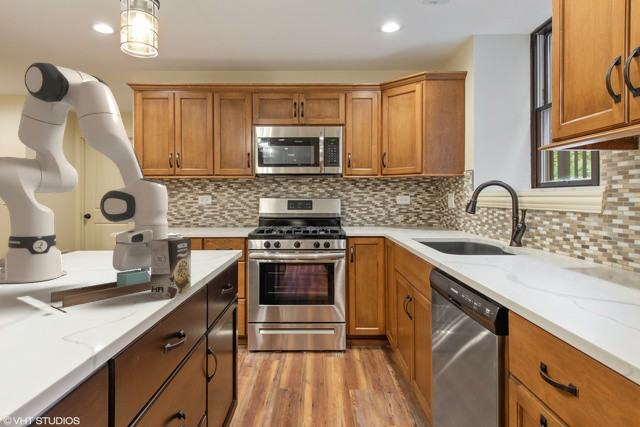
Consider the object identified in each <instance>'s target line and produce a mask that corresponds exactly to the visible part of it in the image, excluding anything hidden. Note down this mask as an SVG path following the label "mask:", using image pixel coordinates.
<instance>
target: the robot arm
mask: <svg viewBox="0 0 640 427" xmlns="http://www.w3.org/2000/svg"><path fill="white" fill-rule="evenodd" d="M24 74H25V75H24V85H25V88H26V90H27V91H28V92H27V93H26V96H25V98H24V99H25V100H24V103H23V106H22V110H21V115H20V120H19V125H18V132H17V137H18V138H19V141H20V142H21V143H22V144H23V145H25V147H28V148H29V149H30V150H33V151H34V152H35V158H27V157H26V158H25V157H14V156H0V199H1V201H3V202H4V204H5V206H6V208H7V211H8V215H9V220H10V235H9V237H8V241H7V243H8V245H7V247H8V248H7V251H6V252H5V253H4V255H3V257H2V258H0V284H11V283H12V284H15V283H17V284H18V283H19V284H20V283H32V282H33V283H34V282H41V281H47V280H48V281H49V280H53V279H56V278H59V277H61V276H65V275H68V271H67V270H63V262H62V259H63V258H62V251H61V250H60V249H58V248H57V247H56V245H57V235H56V234H55V213H54V212H53V210H52V209H51V208H50V207H48V206H47V205H44V204H42V203H39V202H38V201H37V200H36V197H35V194H36V193H37V194H61V193H62V194H63V193H64V194H65V193H68V192H72V191H74V190H75V188H76V187H77V186H78V184H79V180H80V179H79V173H78V171H77V169H76V168H75V167H74V166H73V165H72V164H71V163H70V162H69V161H68V159H67V158H66V156H65V153H64V149H63V146H64V145H63V143H64V136H65V135H64V134H65V130H66V126H67V120H68V114H69V111H70V110H71V109H72V108H74V111H75V114H76V118H77V122H78V128H79V129H80V133H81V135H82V137H83V139H84V141H85V143H86V144H87V145H88V146H89V147H91V148H92V149H93V150H95V151H97V152H98V153H100V154H102V155H103V156H105V157H107V158H108V159H109V160H111V161H112V162H113V164H115V166H116V167H117V169H118V171H119V174H120V176H121V179H122V181H123V183H124V184H123V185H124V186H123V187H121V188H117V189H114V190H113V189H112V190H109V191H107V192H105V193H104V194H103V196H102V198H101V199H100V202H99V203H100V204H99V208H100V213H101V214H102V216H103V218H105V219H106V220H107V221H109V222H113V223H118V224H121V223H122V224H123V223H133V224H134V226H133V227H134V228H132V229H129V230H126V231H123V232H121V233H118V234H116V236H115V241H116V242H117V243H116V244H115V245H114V248H113V253H112V268H114V270H116V271H119V272H125V271H132V270H142V271H147V272H148V281H151V274H150V273H149V271H150V272H151V249H152V248H151V247H152V240H159V239H167V238H184V236H182V234H180V233H179V232H173V233H170V232H169V221H168V219H167V216H168V215H167V214H168V212H169V196H168V188H167V186H166V183H164V182H163V181H160V180H156V179H151V178H146V177H145V174H144V172H143V169H142V165H141V162H140V161H139V157H138V156H137V153H136V151H135V149H134V147H133V145H132V143H131V141H130V139H129V136H128V134H127V131H126V128H125V125H124V122H123V118H122V116H121V112H120V108H119V106H118V103H117V101H116V98H115V97H114V94H113V92H112V90H111V89H110V87H109V85H108V83H107V82H105V80H103V79H101V78H99V77H97V76H95V75H91V74H88V73H86V72H84V71H81V70H78V69H76V68H68V67H64V66H59V65H54V64H52V63H49V62H33V63H32V64H30V65H29V67H27V68H26V70H25V73H24Z"/></svg>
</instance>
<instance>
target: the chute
mask: <svg viewBox="0 0 640 427" xmlns="http://www.w3.org/2000/svg"><path fill="white" fill-rule="evenodd" d="M148 291H151V281H148V282H142V283H136V284H131V285H125V286H120V287H117V280H116V281H113V282H112V281H111V282H106V283H105V282H104V283H100V284H94V285H87V286H82V287H77V288H75V287H74V288H69V289H64V290H57V291H52V292H50V303H52V304H54V303H58V302H62V304H61V305H62V306H61V307H62V308H69V307H73V306H74V307H75V306H80V305H85V304H88V303H93V302H99V301H104V300H108V299H109V300H110V299H113V298H119V297H123V296H128V295H129V296H130V295H133V294H138V293H143V292H148ZM50 307H51V308H53V309H55V310H57V311H60V312H62V313H65V314H66V313H67V311H66V310H62V309H61V308H59V307H56V306H54V305H51V304H50Z"/></svg>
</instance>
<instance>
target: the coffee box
mask: <svg viewBox="0 0 640 427" xmlns="http://www.w3.org/2000/svg"><path fill="white" fill-rule="evenodd" d="M151 248H152V249H151V267H150V275H151V290H150V298H154V299H165V300H167V299H168V300H172V299H175V298H177V297H180V296H182V295H184V294H187V293H189V292H191V291H192V290H191V289H192V288H191V285H192V283H191V281H192V265H191V264H192V238H191V237H183V238H167V239H159V240H152V247H151Z"/></svg>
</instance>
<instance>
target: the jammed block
mask: <svg viewBox="0 0 640 427" xmlns="http://www.w3.org/2000/svg"><path fill="white" fill-rule="evenodd" d="M148 273H149V271H148V272H147V271H142V270H141V269H133V270H126V271H119V272H116V281H117V287H120V286H125V285H131V284H136V283H142V282H148Z"/></svg>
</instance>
